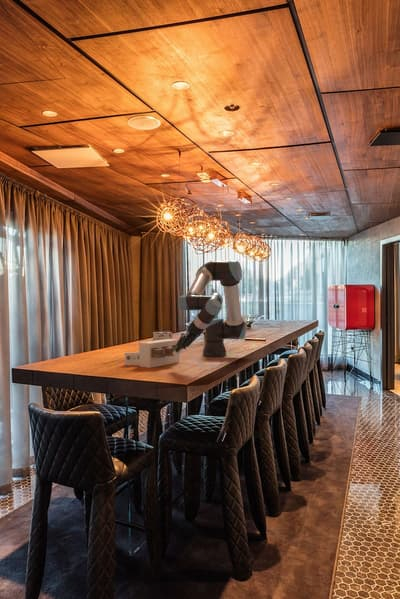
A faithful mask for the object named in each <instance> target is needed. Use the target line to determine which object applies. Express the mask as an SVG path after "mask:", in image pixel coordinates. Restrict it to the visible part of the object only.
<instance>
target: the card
mask: <svg viewBox="0 0 400 599" xmlns="http://www.w3.org/2000/svg"><path fill="white" fill-rule="evenodd" d="M124 366H139V351H137V352H136V351H134V352H131V351H130V352H124Z"/></svg>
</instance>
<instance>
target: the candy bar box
mask: <svg viewBox="0 0 400 599" xmlns="http://www.w3.org/2000/svg"><path fill="white" fill-rule="evenodd" d="M164 339H173V332H172V331H153V332H152V341H156V340H164Z"/></svg>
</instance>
